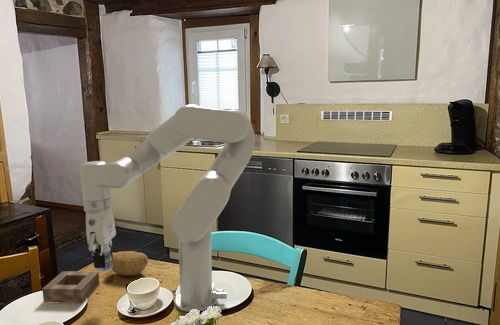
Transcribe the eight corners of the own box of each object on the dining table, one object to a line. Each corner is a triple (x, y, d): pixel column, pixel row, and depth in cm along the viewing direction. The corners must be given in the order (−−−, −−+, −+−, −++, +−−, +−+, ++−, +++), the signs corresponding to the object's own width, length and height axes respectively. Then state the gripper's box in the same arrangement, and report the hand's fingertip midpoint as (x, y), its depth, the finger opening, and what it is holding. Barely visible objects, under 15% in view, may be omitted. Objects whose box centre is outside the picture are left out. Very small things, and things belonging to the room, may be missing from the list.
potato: (118, 266, 145) (117, 245, 143) (153, 270, 142) (152, 249, 140) (102, 278, 135) (100, 256, 134) (139, 282, 132) (138, 260, 131)
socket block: (99, 284, 131) (98, 271, 130) (82, 303, 119) (81, 289, 118) (63, 284, 131) (62, 271, 131) (43, 302, 120) (42, 288, 119)
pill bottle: (107, 273, 115) (104, 245, 114) (92, 272, 116) (89, 244, 115) (115, 266, 120) (113, 239, 118) (101, 265, 121) (98, 239, 119)
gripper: (98, 212, 106) (104, 276, 109) (121, 196, 123) (126, 252, 126) (70, 212, 107) (78, 276, 110) (97, 197, 123) (103, 252, 126)
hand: (103, 262), depth 118 cm, fingers closed on pill bottle, 4 cm apart
